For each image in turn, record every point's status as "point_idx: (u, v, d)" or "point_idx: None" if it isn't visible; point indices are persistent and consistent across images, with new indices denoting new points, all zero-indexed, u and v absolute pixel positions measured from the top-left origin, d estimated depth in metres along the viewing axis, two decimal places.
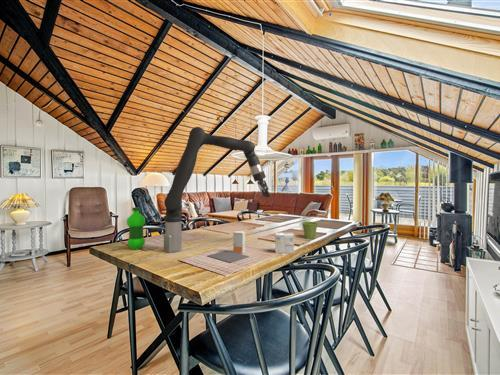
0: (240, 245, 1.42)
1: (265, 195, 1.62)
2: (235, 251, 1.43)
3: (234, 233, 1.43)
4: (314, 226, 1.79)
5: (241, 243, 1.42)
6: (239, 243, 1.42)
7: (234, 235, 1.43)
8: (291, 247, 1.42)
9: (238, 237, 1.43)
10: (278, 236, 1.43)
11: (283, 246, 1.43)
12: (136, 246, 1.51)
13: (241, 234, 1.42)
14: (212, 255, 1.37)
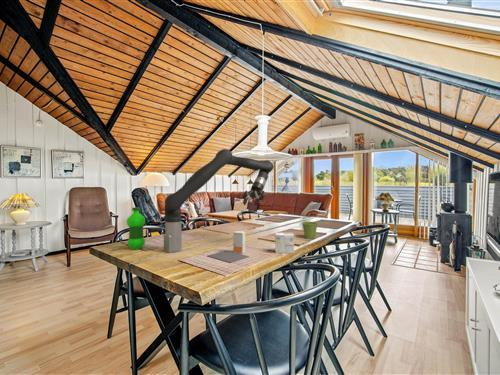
0: (240, 245, 1.42)
1: (245, 203, 1.57)
2: (235, 251, 1.43)
3: (234, 233, 1.43)
4: (314, 226, 1.79)
5: (241, 243, 1.42)
6: (239, 243, 1.42)
7: (234, 235, 1.43)
8: (291, 247, 1.42)
9: (238, 237, 1.43)
10: (278, 236, 1.43)
11: (283, 246, 1.43)
12: (136, 246, 1.51)
13: (241, 234, 1.42)
14: (212, 255, 1.37)
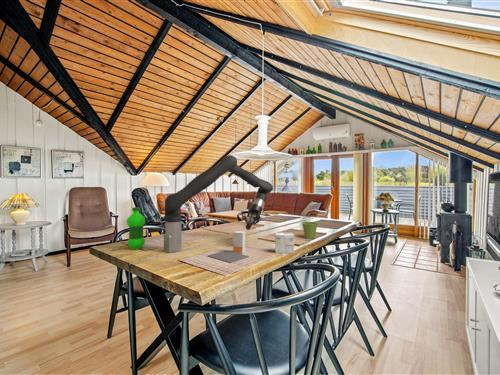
0: (240, 245, 1.42)
1: None
2: (235, 251, 1.43)
3: (234, 233, 1.43)
4: (314, 226, 1.79)
5: (241, 243, 1.42)
6: (239, 243, 1.42)
7: (234, 235, 1.43)
8: (291, 247, 1.42)
9: (238, 237, 1.43)
10: (278, 236, 1.43)
11: (283, 246, 1.43)
12: (136, 246, 1.51)
13: (241, 234, 1.42)
14: (212, 255, 1.37)
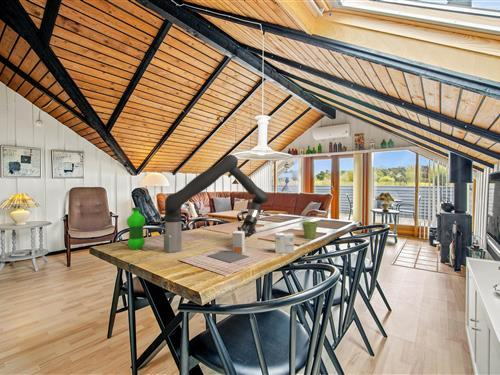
0: (240, 245, 1.42)
1: None
2: (235, 251, 1.43)
3: (233, 233, 1.42)
4: (314, 226, 1.79)
5: (241, 243, 1.41)
6: (239, 243, 1.42)
7: (233, 235, 1.43)
8: (291, 247, 1.42)
9: (237, 237, 1.42)
10: (278, 236, 1.43)
11: (283, 246, 1.43)
12: (136, 246, 1.51)
13: (240, 234, 1.41)
14: (212, 255, 1.37)
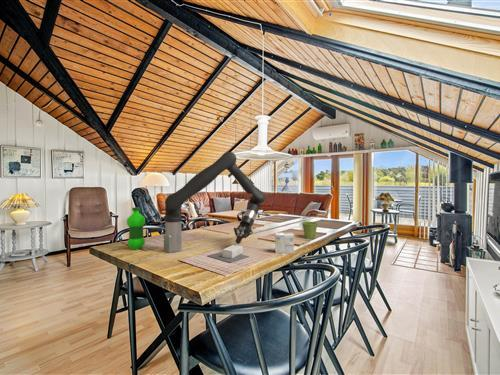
0: None
1: None
2: None
3: None
4: (314, 226, 1.79)
5: None
6: None
7: None
8: (291, 247, 1.42)
9: None
10: (278, 236, 1.43)
11: (283, 246, 1.43)
12: (136, 246, 1.51)
13: None
14: (212, 255, 1.37)
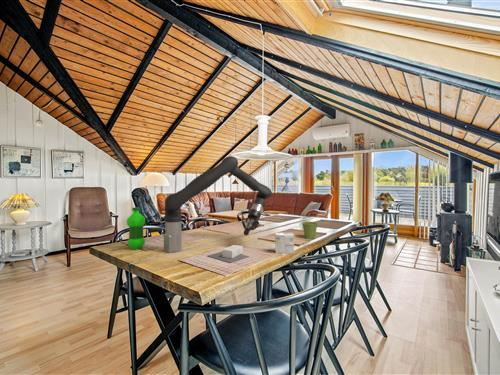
0: None
1: None
2: None
3: None
4: (314, 226, 1.79)
5: None
6: None
7: None
8: (291, 247, 1.42)
9: None
10: (278, 236, 1.43)
11: (283, 246, 1.43)
12: (136, 246, 1.51)
13: None
14: (212, 255, 1.37)
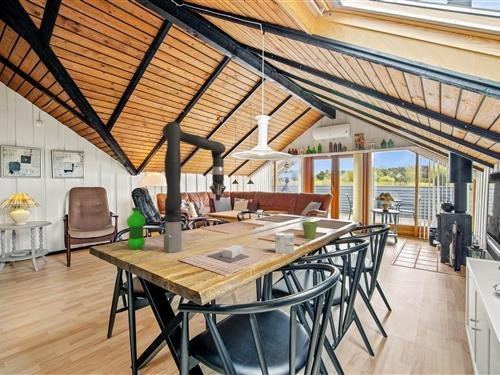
0: None
1: None
2: None
3: None
4: (314, 226, 1.79)
5: None
6: None
7: None
8: (291, 247, 1.42)
9: None
10: (278, 236, 1.43)
11: (283, 246, 1.43)
12: (136, 246, 1.51)
13: None
14: (212, 255, 1.37)
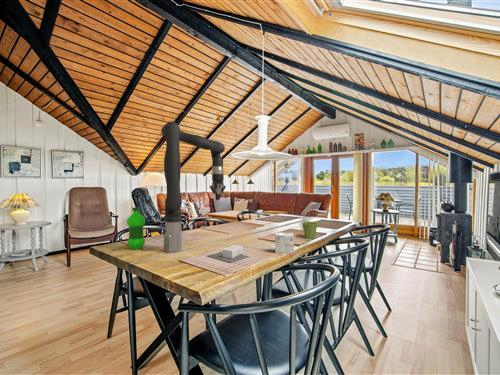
0: None
1: None
2: None
3: None
4: (314, 226, 1.79)
5: None
6: None
7: None
8: (291, 247, 1.42)
9: None
10: (278, 236, 1.43)
11: (283, 246, 1.43)
12: (136, 246, 1.51)
13: None
14: (212, 255, 1.37)
